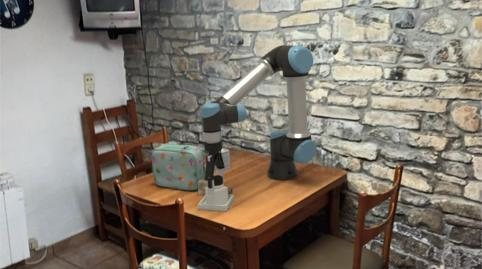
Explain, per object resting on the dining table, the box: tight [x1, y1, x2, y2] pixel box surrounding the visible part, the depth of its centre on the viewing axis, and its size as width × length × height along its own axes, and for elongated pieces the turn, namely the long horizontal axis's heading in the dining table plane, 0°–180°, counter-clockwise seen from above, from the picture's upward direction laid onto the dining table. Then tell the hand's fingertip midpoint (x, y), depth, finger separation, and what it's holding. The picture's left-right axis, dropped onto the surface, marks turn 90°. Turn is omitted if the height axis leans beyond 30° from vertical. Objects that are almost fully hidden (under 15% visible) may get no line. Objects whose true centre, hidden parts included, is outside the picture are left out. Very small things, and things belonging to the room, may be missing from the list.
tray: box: [197, 194, 235, 212], centre depth 193 cm, size 13×13×2 cm
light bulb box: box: [207, 147, 231, 172], centre depth 241 cm, size 11×7×11 cm, turn 42°
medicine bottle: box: [204, 174, 228, 205], centre depth 192 cm, size 7×7×12 cm
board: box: [228, 186, 234, 195], centre depth 205 cm, size 10×8×2 cm
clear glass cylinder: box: [197, 180, 207, 196], centre depth 206 cm, size 4×4×6 cm
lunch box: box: [151, 142, 206, 191], centre depth 215 cm, size 27×10×21 cm, turn 66°
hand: (216, 188), depth 192 cm, fingers open, 13 cm apart
